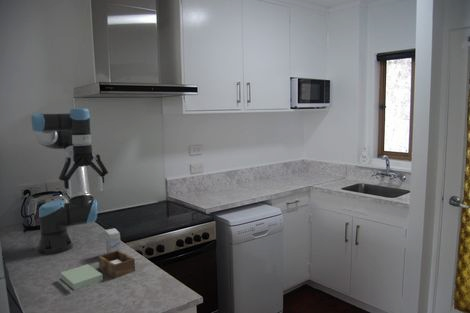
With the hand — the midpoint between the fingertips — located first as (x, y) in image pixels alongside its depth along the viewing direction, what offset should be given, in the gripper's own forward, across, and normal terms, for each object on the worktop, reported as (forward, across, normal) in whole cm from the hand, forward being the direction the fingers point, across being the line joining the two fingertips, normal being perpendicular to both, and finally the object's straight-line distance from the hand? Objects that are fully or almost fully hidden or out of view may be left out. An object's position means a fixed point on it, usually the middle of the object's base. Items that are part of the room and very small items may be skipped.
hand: (85, 193), depth 156 cm
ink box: (+32, +11, 0) cm, 34 cm away
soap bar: (+31, +4, -17) cm, 35 cm away
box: (+32, +4, -17) cm, 36 cm away
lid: (+32, -10, -15) cm, 37 cm away
